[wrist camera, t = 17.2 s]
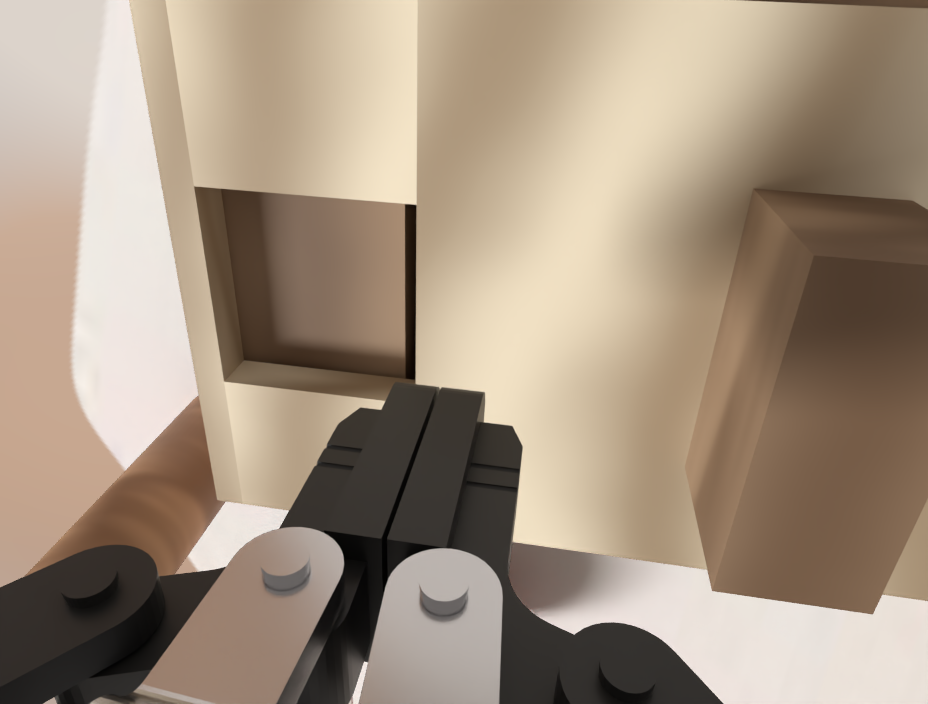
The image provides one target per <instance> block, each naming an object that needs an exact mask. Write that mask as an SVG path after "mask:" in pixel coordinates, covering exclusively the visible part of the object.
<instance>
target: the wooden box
mask: <svg viewBox="0 0 928 704" xmlns="http://www.w3.org/2000/svg"><path fill="white" fill-rule="evenodd" d="M743 1H766V2H789V3H812V4H835V5H859V6H882V7H905V8H928V0H743ZM221 193H222V200H223V207H224V215H225V222H226V230H227V237H228V245H229V252H230V259H231V267H232V274H233V282H234V289H235V297H236V304H237V311H238V319H239V326H240V334H241V341H242V349H243V356H244V360H246V361H254V362H263V363H272V364H281V365H289V366H298V367H307V368H315V369H324V370H333V371H341V372H350V373H359V374H368V375H376V376H385V377H394V378H402V379H411V380H416V215H417V205H413V204H401V203H389V202H377V201H365V200H353V199H340V198H328V197H316V196H304V195H292V194H280V193H268V192H256V191H244V190H232V189H221Z"/></svg>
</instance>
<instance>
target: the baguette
mask: <svg viewBox="0 0 928 704" xmlns="http://www.w3.org/2000/svg"><path fill="white" fill-rule="evenodd" d="M225 502H226V501H220V500H217V496H216V490H215V485H214V479H213V473H212V468H211V462H210V456H209V451H208V445H207V439H206V434H205V428H204V422H203V417H202V411H201V405H200V400H199V396H197V397H196V398H195V399H194V400H193V401H192V402H191V403H190V404H189V405H188V406H187V407H186V408H185V409H184V410H183V411H182V412H181V413H180V414H179V415H178V416H177V417H176V418H175V420H174V421H173V422H172V423H171V424H170V425H169V426H168V427H167V428H166V429H165V430H164V431H163V432H162V433H161V434H160V435H159V436H158V437H157V438H156V439H155V440H154V441H153V442H152V444H151V445H150V446H149V447H148V448H147V449H146V450H145V451H144V452H143V453H142V454H141V455H140V456H139V457H138V458H137V459H136V460H135V461H134V462H133V463H132V464H131V465H130V467H129V468H128V469H127V470H126V471H125V472H124V473H123V474H122V475H121V476H120V477H119V478H118V479H117V480H116V481H115V482H114V483H113V484H112V485H111V486H110V487H109V489H108V490H107V491H106V492H105V493H104V494H103V495H102V496H101V497H100V498H99V499H98V500H97V501H96V502H95V503H94V504H93V505H92V506H91V507H90V508H89V509H88V510H87V512H86V513H85V514H84V515H83V516H82V517H81V518H80V519H79V520H78V521H77V522H76V523H75V524H74V525H73V526H72V527H71V528H70V529H69V530H68V532H66V533H65V534H64V536H63V537H62V538H61V539H60V540H59V541H58V542H57V543H56V544H55V545H54V546H53V547H52V548H51V549H50V550H49V551H48V552H47V553H46V554H45V555H44V556H43V558H42V559H41V560H40V561H39V562H38V563H37V564H36V565H35V566H34V567H33V568H32V569H31V570H30V571H29V572H28V573H27V574H26V575H25V576H27V575H29V574H32V573H34V572H36V571H38V570H40V569H43V568H45V567H47V566H49V565H52V564H54V563H56V562H58V561H60V560H63V559H65V558H67V557H69V556H72V555H74V554H76V553H79V552H81V551H84V550H87V549H91V548H94V547H99V546H105V545H128V546H133V547H136V548H139V549H142V550H143V551H145V552H146V553H148V554H149V555H150V556H151V557H152V558H153V560H154V562H155V564H156V566H157V570H158V574H159V576H166V575H175V573H176V571H177V570H178V569H179V567H180V566H181V565H182V563H183V562H184V560H185V559H186V557H187V556H188V555H189V553H190V552H191V550H192V549H193V547H194V546H195V545H196V543H197V542H198V540H199V539H200V537H201V536H202V535H203V533H204V532H205V530H206V529H207V527H208V526H209V525H210V523H211V522H212V520H213V519H214V517H215V516H216V515H217V513H218V512H219V510H220V509H221V507H222V506H223V505H224V503H225Z"/></svg>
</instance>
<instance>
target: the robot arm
mask: <svg viewBox="0 0 928 704" xmlns="http://www.w3.org/2000/svg"><path fill="white" fill-rule="evenodd" d="M484 412H485V392H480V391H471V390H463V389H454V388H446V387H441V389H440V388H439V387H436V386H427V385H419V384H410V383H402V382H395V383H394V384H393V386H392V388H391V390H390V393H389V395H388V397H387V399H386V401H385V403H384V405H383V407H382V409H381V410H378V409H370V408H361V407H360V408H359V409H358V410H356V411H355V412H353V413H352V414H351V415H349V416H348V417H347V418H345V419H344V420H343V421H341V422H340V423H338V425H337V427H336V429H335V430H334V432H333V434H332V436H331V437H330V439H329V441H328V443H327V447H326V448H324V450H323V452H322V453H321V455H320V457H319V459H318V461H317V465H316V466H314V468H313V469H312V471H311V473H310V475H309V477H308V478H307V480H306V482H305V484H304V485H303V487H302V489H301V491H300V493H299V494H298V496H297V498H296V500H295V501H294V503H293V505H292V507H291V509H290V510H289V512H288V514H287V516H286V517H285V519H284V521H283V523H282V525H281V526H280V528H279V529H276V530H272V531H270V532H267V533H264V534H262V535H260V536H258V537H256V538H254V539H253V540H251V541H250V542H248V543H247V544H245V545H244V546H243V547H242V548H241V549H240V550H239V551H238V552H237V553H236V554H235V556H234V557H233V558H232V560H231V561H230V562H229V564H228V565H227V567H224V568H220V569H215V570H209V571H201V572H192V573H184V574H175V575H166V576H159V574H158V570H157V566H156V564H155V562H154V560H153V558H152V557H151V556H150V555H149V554H148V553H146V552H145V551H143V550H142V549H139V548H136V547H133V546H128V545H105V546H99V547H94V548H91V549H87V550H84V551H81V552H79V553H76V554H74V555H72V556H69V557H67V558H65V559H63V560H60V561H58V562H56V563H54V564H52V565H49V566H47V567H45V568H43V569H40V570H38V571H36V572H34V573H32V574H29V575H27V576H25V577H23V578H20V579H18V580H16V581H14V582H12V583H9V584H7V585H5V586H3V587H0V704H43V703H44V702H46V701H48V700H50V699H52V698H53V697H55V700H56V702H57V704H353V698H352V696H353V693H354V690H355V687H356V684H357V681H358V678H359V675H360V672H361V669H362V666H363V663H364V661H365V662H368V665H367V670H366V674H365V678H364V683H363V687H362V691H361V696H360V700H359V704H723V703H722V702H721V701H720V700H719V699H718V697H717V696H716V695H715V694H714V693H713V692H712V691H711V690H710V689H709V688H708V687H707V686H706V685H705V684H704V683H703V681H702V680H701V679H700V678H699V677H698V676H697V675H696V674H695V673H694V672H693V671H692V670H691V669H690V668H689V666H688V665H687V664H686V663H685V662H684V661H683V660H682V659H681V658H680V657H679V656H678V655H677V654H676V653H675V652H674V651H673V650H672V649H671V648H670V647H669V646H668V645H667V644H666V643H665V642H663V641H662V640H661V639H659V638H658V637H656V636H655V635H653V634H651V633H649V632H647V631H645V630H643V629H640V628H638V627H635V626H631V625H627V624H622V623H600V624H595V625H592V626H589V627H586V628H584V629H582V630H581V631H579V632H578V633H576V634H575V635H573V634H571V633H569V632H567V631H565V630H563V629H560V628H558V627H556V626H554V625H552V624H550V623H548V622H546V621H544V620H542V619H540V618H539V617H538V616H536V615H535V614H533V613H532V612H531V611H530V610H529V609H527V608H526V607H525V606H524V605H523V604H522V602H521V601H520V600H519V599H518V597H517V596H516V594H515V592H514V591H513V589H512V586H511V584H510V581H509V576H508V574H509V566H510V558H511V550H512V542H513V534H514V526H515V518H516V508H517V499H518V489H519V479H520V470H521V460H522V451H523V446H522V444H521V442H520V440H519V438H518V436H517V434H516V432H515V430H514V428H513V426H510V425H502V424H493V423H485V422H484Z"/></svg>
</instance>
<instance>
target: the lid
mask: <svg viewBox="0 0 928 704" xmlns="http://www.w3.org/2000/svg"><path fill="white" fill-rule="evenodd" d="M129 3H130V9H131V14H132V20H133V26H134V31H135V37H136V43H137V48H138V54H139V60H140V65H141V71H142V77H143V82H144V88H145V94H146V99H147V105H148V111H149V116H150V122H151V128H152V133H153V139H154V145H155V150H156V156H157V162H158V167H159V173H160V179H161V184H162V190H163V196H164V201H165V207H166V213H167V218H168V224H169V230H170V235H171V241H172V247H173V252H174V258H175V264H176V269H177V275H178V281H179V286H180V292H181V298H182V303H183V309H184V315H185V320H186V326H187V332H188V337H189V343H190V349H191V354H192V360H193V366H194V371H195V377H196V383H197V388H198V394H199V400H200V405H201V411H202V417H203V422H204V428H205V434H206V439H207V445H208V451H209V456H210V462H211V468H212V473H213V479H214V485H215V490H216V496H217V500H220V501H227V502H234V503H241V504H248V505H255V506H262V507H269V508H276V509H283V510H290V509H291V507H292V505H293V503H294V501H295V500H296V498H297V496H298V494H299V493H300V491H301V489H302V487H303V485H304V484H305V482H306V480H307V478H308V477H309V475H310V473H311V471H312V469H313V468H314V466H316V465H317V461H318V459H319V457H320V455H321V453H322V452H323V450H324V448H326V447H327V443H328V441H329V439H330V437H331V436H332V434H333V432H334V430H335V429H336V427H337V425H338V423H340V422H341V421H343V420H344V419H345V418H347V417H348V416H349V415H351V414H352V413H353V412H355V411H356V410H358V409H359V408H360V407H361V408H370V409H378V410H381V409H382V407H383V405H384V403H385V401H386V399H387V397H388V395H389V393H390V390H391V388H392V386H393V384H394V383H395V382H402V383H410V384H419V385H427V386H436V387H439V388H440V389H441V387H446V388H454V389H463V390H471V391H480V392H485V412H484V422H485V423H493V424H502V425H510V426H513V428H514V430H515V432H516V434H517V436H518V438H519V440H520V442H521V444H522V446H523V451H522V460H521V470H520V479H519V489H518V499H517V508H516V518H515V526H514V534H513V542H516V543H523V544H530V545H537V546H544V547H551V548H558V549H565V550H572V551H580V552H587V553H594V554H601V555H608V556H615V557H622V558H629V559H636V560H643V561H650V562H657V563H664V564H671V565H678V566H685V567H692V568H699V569H706V570H708V574H709V579H710V584H711V588H712V591H716V592H723V593H730V594H737V595H744V596H751V597H757V598H764V599H771V600H778V601H785V602H792V603H799V604H806V605H812V606H819V607H826V608H833V609H840V610H847V611H854V612H861V613H867V614H873V613H874V611H875V608H876V606H877V604H878V602H879V600H880V598H881V596H882V594H883V595H890V596H897V597H904V598H911V599H918V600H925V601H928V8H905V7H882V6H859V5H835V4H812V3H789V2H766V1H743V0H129ZM221 189H232V190H244V191H256V192H268V193H280V194H292V195H304V196H316V197H328V198H340V199H353V200H365V201H377V202H389V203H401V204H413V205H417V215H416V380H411V379H402V378H394V377H385V376H376V375H368V374H359V373H350V372H341V371H333V370H324V369H315V368H307V367H298V366H289V365H281V364H272V363H263V362H254V361H246V360H244V356H243V349H242V341H241V334H240V326H239V319H238V311H237V304H236V297H235V289H234V282H233V274H232V267H231V259H230V252H229V245H228V237H227V230H226V222H225V215H224V207H223V200H222V193H221Z"/></svg>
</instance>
